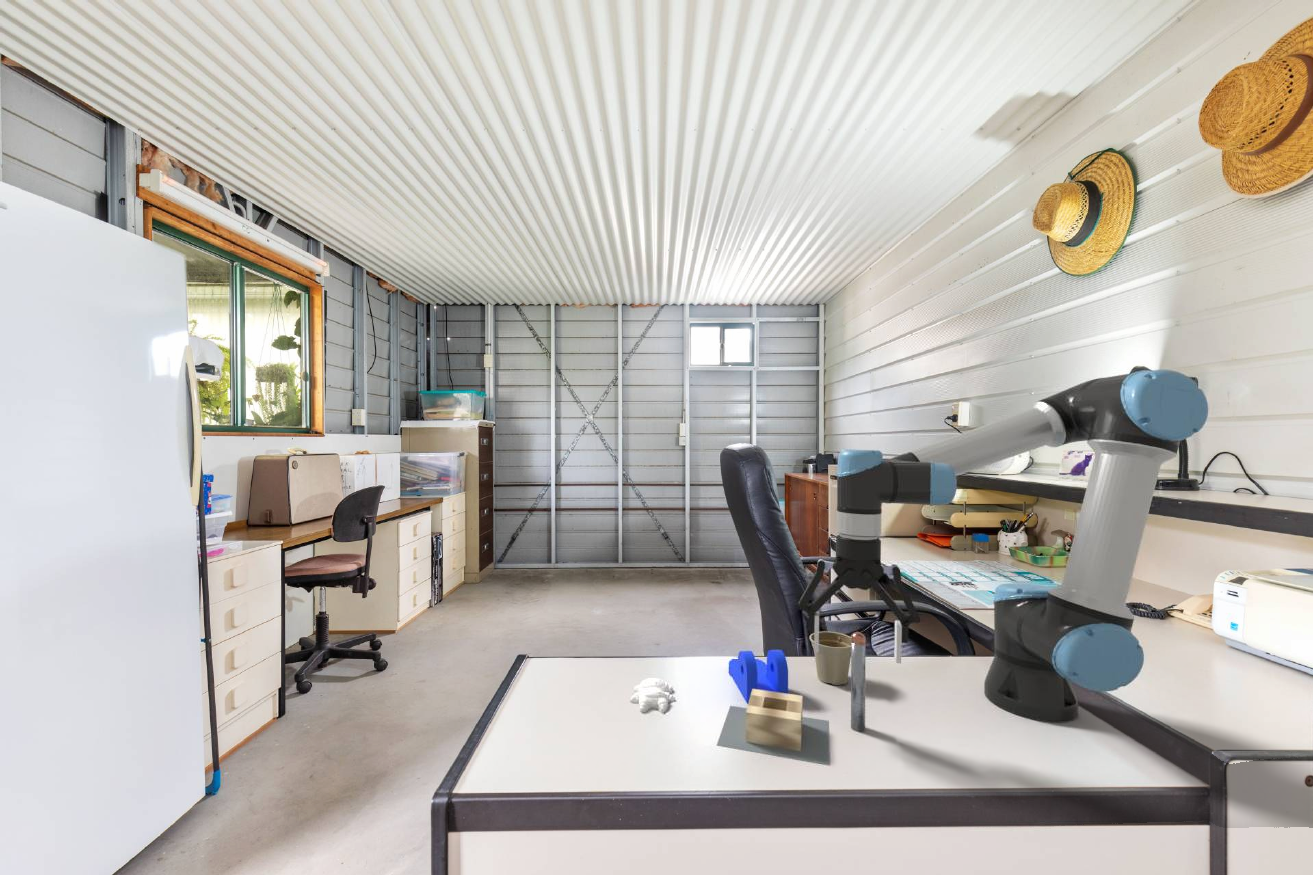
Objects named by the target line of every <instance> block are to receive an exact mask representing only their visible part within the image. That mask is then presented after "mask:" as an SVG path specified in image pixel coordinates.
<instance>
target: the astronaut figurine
mask: <svg viewBox="0 0 1313 875" xmlns="http://www.w3.org/2000/svg"><path fill="white" fill-rule="evenodd" d="M633 688H634V689H633V690H634V694H633V695H631V698H630V699H629V702H630V703H631V704H635V703H638V708H639V712H641V713H646V712H647V711H648V710H649V709H657V710H658V711H659V713H661V714H666V713H667V711H668V704H669V703H668V702H672V703H673V702H675V701H676V697H675V696H674V695H673V694H672V693H673V692H674V687H673V686H672V685H669V684H668V683H667V682H666V681H665V680H663V679H661V678H657V677H649V678H646V679H644V680H642V681H641V682H639V684H637V685H635V686H634V687H633ZM670 693H671V694H670Z"/></svg>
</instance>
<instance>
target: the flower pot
mask: <svg viewBox="0 0 1313 875" xmlns="http://www.w3.org/2000/svg"><path fill="white" fill-rule="evenodd" d="M809 640H810V642H811V646H812V648H813V649H814V632H812V633H811V634H810V635H809ZM813 653H814V659H815V660H814V661H815V668H816V676H817V678H818V680H819V681H820V682H822V683H825V684H832V685H833V686H841V685H845V684H846V683H848V682H847V681H849V680H848V679H849V673H850V672H849V670H850V666H851V636H849V635H847V634H844V633H841V632H835V631H819V651H818V653H817V652H814V651H813Z"/></svg>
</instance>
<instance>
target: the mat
mask: <svg viewBox="0 0 1313 875" xmlns="http://www.w3.org/2000/svg"><path fill="white" fill-rule="evenodd" d="M746 710H747V707H742V706H737V705H736V706H733V705H729V709H728V711H727V715H726V716H725V717H726V718H725V721H724V723H723V726H722V728H721V732H720V734H719V738H718V740H717V744H716V746H717V747H722V748H723V747H724V748H728V749H729V748H730V749H735V750H739V751H740V750H741V751H746V752H753V753H756V754H757V753H758V754H764V755H768V756H772V757H773V756H774V757H780V758H784V759H792V760H796V761H802V762H808V763H814V764H819V765H825V766H830V765H831V764H830V761H831V759H830V729H829V728H830V727H829V724H830V722H829V720H827V719H819V718H812V717H804V716H803V722H802V739H801V751H796V750H790V749H784V748H779V747H773V746H767V745H761V744H756V743H750V742H746Z"/></svg>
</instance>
